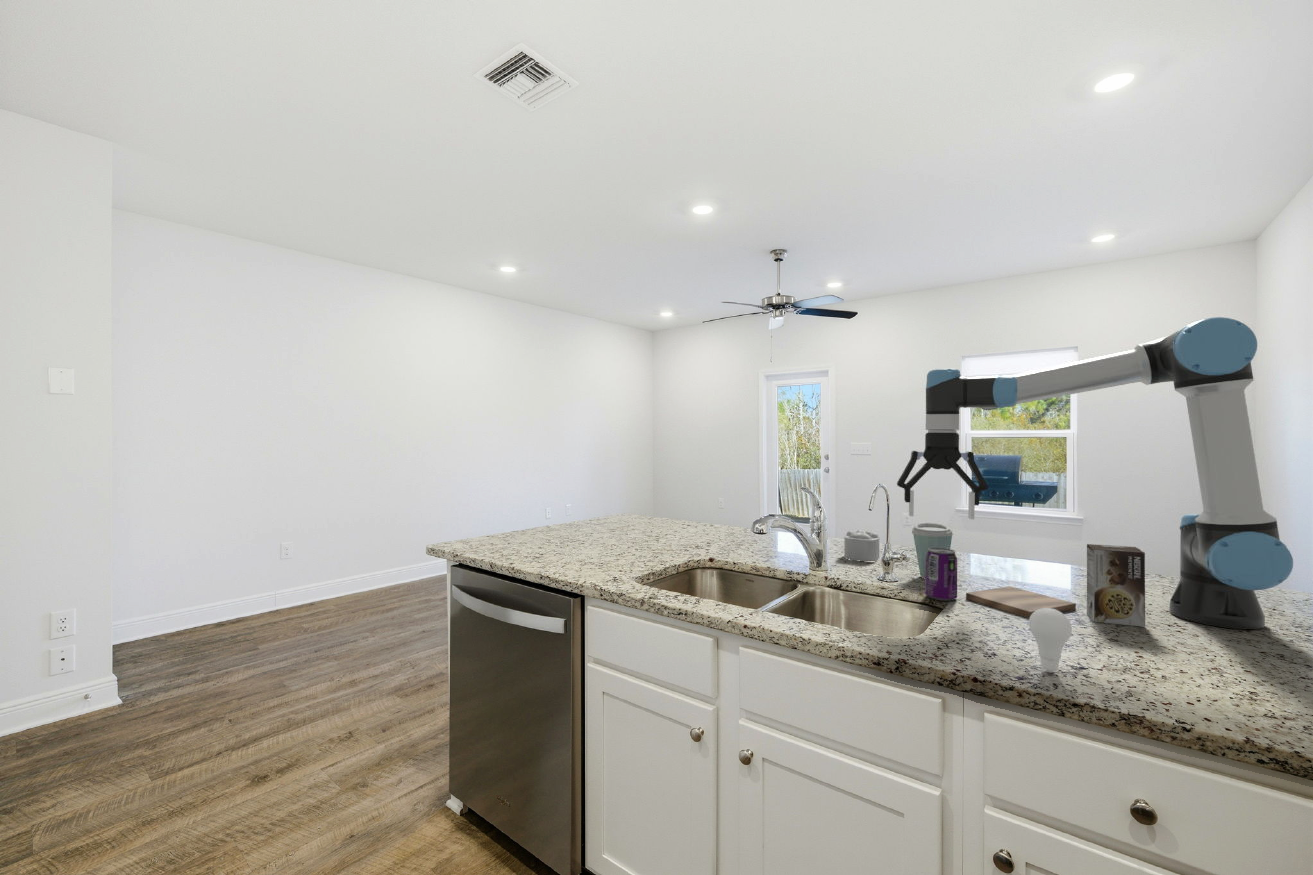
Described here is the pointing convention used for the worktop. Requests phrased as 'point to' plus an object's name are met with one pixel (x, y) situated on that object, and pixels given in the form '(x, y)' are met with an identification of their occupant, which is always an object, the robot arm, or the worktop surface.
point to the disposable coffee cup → (930, 541)
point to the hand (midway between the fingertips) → (940, 517)
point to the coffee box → (1116, 584)
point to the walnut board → (1018, 600)
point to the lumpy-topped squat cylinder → (861, 546)
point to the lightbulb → (1050, 635)
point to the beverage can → (941, 574)
